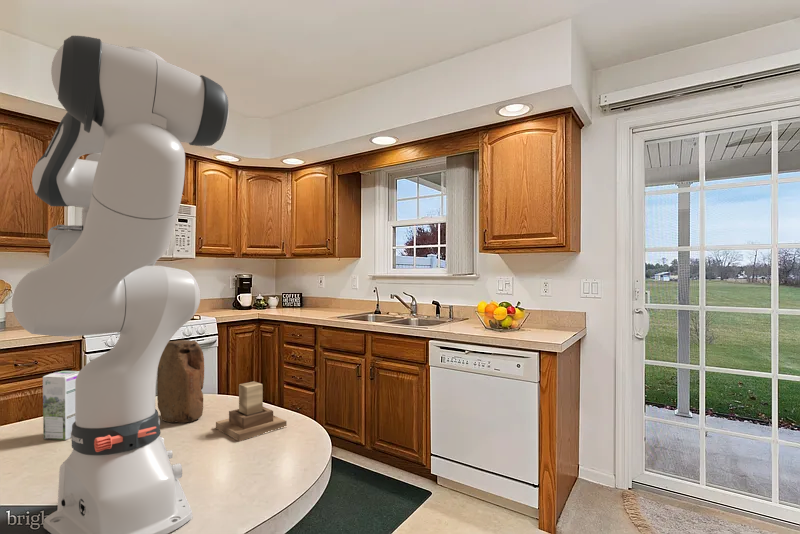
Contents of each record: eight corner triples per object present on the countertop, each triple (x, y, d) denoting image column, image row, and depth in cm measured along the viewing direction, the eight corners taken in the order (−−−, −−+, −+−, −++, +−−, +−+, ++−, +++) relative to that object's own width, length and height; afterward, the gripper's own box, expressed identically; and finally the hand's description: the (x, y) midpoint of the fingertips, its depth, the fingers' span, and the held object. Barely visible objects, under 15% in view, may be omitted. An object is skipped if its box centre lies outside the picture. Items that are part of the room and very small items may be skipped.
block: (154, 420, 112) (154, 341, 112) (179, 411, 118) (179, 337, 118) (184, 426, 107) (184, 344, 107) (209, 417, 114) (209, 340, 114)
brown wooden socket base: (286, 427, 106) (286, 410, 106) (239, 441, 98) (239, 423, 98) (261, 415, 115) (261, 400, 115) (215, 428, 106) (215, 411, 106)
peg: (262, 421, 106) (262, 384, 106) (247, 425, 103) (246, 387, 103) (254, 417, 109) (254, 381, 109) (238, 421, 106) (238, 384, 106)
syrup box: (86, 431, 104) (86, 370, 104) (64, 441, 98) (64, 376, 98) (64, 430, 105) (64, 369, 105) (41, 440, 99) (41, 375, 99)
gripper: (50, 222, 90) (50, 290, 90) (158, 229, 105) (158, 286, 105) (45, 224, 95) (45, 289, 95) (149, 230, 109) (149, 286, 109)
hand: (105, 287), depth 100 cm, fingers open, 8 cm apart
